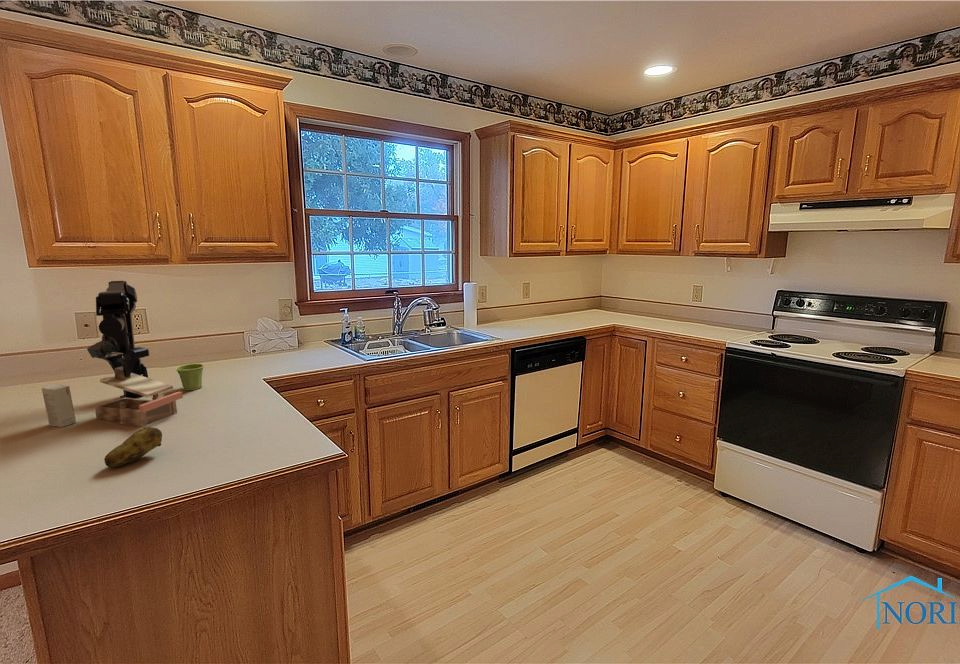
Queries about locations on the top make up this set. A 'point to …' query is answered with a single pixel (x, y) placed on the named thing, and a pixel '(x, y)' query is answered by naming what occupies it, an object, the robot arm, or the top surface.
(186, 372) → the plant pot
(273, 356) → the top surface
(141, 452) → the potato
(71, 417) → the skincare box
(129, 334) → the robot arm
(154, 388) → the lid
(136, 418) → the toolbox
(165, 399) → the bar
